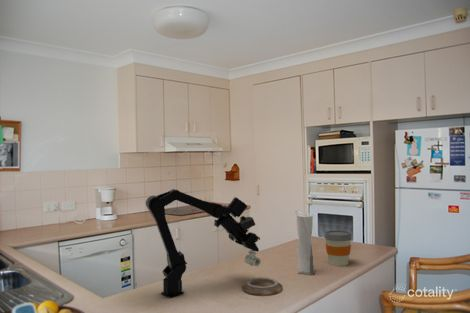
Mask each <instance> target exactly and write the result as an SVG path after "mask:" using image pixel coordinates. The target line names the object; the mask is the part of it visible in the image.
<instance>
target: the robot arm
mask: <svg viewBox="0 0 470 313" xmlns="http://www.w3.org/2000/svg"><path fill="white" fill-rule="evenodd" d="M176 201H179V202H180V203H183V204H185V205H188V206H191V207H194V208H196V209H199V210H201V211H202V212H204V213H205V214H207V215H208V216H210V217H212V218H215V219H214V223H213V225H214V227H216V228H219V227H220V226H221V227H222V228H223V229H224V230H225V231H226V233H227V234H228V238H229V239H230V240H231V241H233V242H235V243H236V244H238V245H240V246H243V247H244V248H246V249H247V250H248V249H249V250H254V251H255V252H256V253H257V252H259V251H260V250H259V247H258V246H257V245H258V244H256V243H257V242H255V241H256V239H257V238H258V237H259V236H258V235H257V234H256V233H255V232H252V231H251V232H249V229H251V228H252V227H255V226H256V222H255V220H254V217H251V216H245V215H243V213H244V212H245V211H246V210H247V208H248V205H247V204H246V203H245V202H244V201H242V200H241V199H239V198H238V197H236V196H234V197H233V198H232V200H231V201H230V203H229V204H228V205H227V206H226V205H223V204H220V203H217V202H212V201H209V200H202V199H200V198H197V197H194V196H193V195H189V194H187V193H184V192H182V191H180V190H179V189H175V188H173V189H170V190H168V191H167V192H163V193H160V194H158V195H150V196H149V197H147V199H146V201H145V206H146V209H147V210H148V212H149V214H150V215H151V216H152V218H153V219H154V221H155V225H156V228H157V229H158V232H159V235H160V238H161V241H162V244H163V247H164V250H165V252H166V263H167V265H166V266H165V267H164V269H163V270H162V274H163V276H164V278H163V279H162V280H163V281H162V282H163V283H162V284H163V287H162V288H163V291H161V293H160V294H161V295H163V296H164V297H168V298H173V297H177V296H180V295H183V294H184V293H185V292H184V291H183V280H182V277H183V274H184V273H186V270H187V265H188V263H187V261H186V259H185V254H184V253H183V252H182V251H180V250H178V249H177V247H176V245H175V241H174V238H173V236H172V235H173V234H172V233H171V230H170V227H169V225H168V220H167V219H166V209H165V207H166V206H168V205H170V204H172V203H173V202H176ZM241 215H242V216H241ZM235 218H239V222H238V221H237V220H236V219H235Z"/></svg>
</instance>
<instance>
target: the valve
mask: <svg viewBox="0 0 470 313" xmlns="http://www.w3.org/2000/svg"><path fill="white" fill-rule="evenodd" d="M260 240H261V237H260V236H258V238H257V239H256V241H255V243H257V242H258V241H260ZM256 254H257V252H256V251H254V250H251V249H249V251H248V254H247V255H246V256H244V263H245V264H248V265H249V266H252V267H253V266H255V267H259V266H260V264H261V258H259V257H257V256H256Z"/></svg>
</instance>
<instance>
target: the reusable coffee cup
mask: <svg viewBox="0 0 470 313" xmlns="http://www.w3.org/2000/svg"><path fill="white" fill-rule="evenodd" d="M324 239H325V249H326V254H327V258H328V264H329V265H331V266H335V267H336V266H337V267H344V266H348V265H349V260H350V259H349V258H350V255H351V247H352V244H351V240H352V234H351V231H347V230H346V231H345V230H327V231H325V232H324Z"/></svg>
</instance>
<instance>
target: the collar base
mask: <svg viewBox="0 0 470 313" xmlns="http://www.w3.org/2000/svg"><path fill="white" fill-rule="evenodd" d="M241 288H242V291H243V292H244V293H246V294H248V295H251V296H256V297H267V296H269V297H270V296H274V295H278V294H280V293H281V292H282V291H283V284H281V282H278V280H276V279H274V278H270V277H261V276H260V277H253V278H251V279H250V278H249V279H248V280H247V281H246V282H245V283H243V284H242V287H241Z"/></svg>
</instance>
